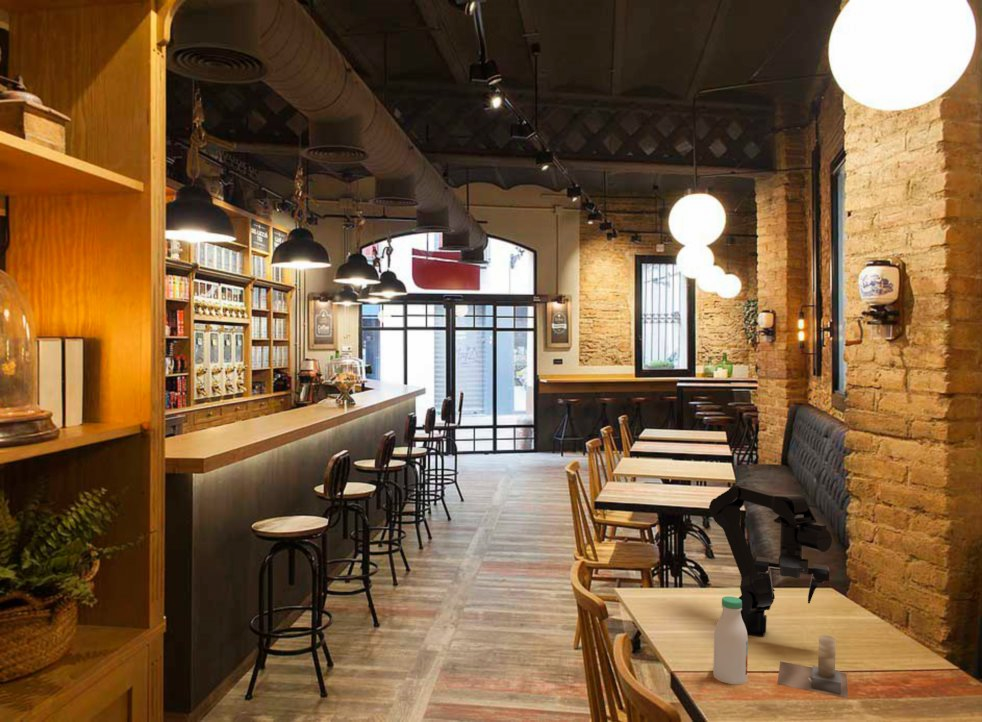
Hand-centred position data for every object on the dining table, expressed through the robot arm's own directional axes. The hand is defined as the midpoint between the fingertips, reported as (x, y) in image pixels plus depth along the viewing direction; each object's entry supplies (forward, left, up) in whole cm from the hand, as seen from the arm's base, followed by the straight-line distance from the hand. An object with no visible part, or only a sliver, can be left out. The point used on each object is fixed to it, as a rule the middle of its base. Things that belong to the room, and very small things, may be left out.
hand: (790, 600), depth 192 cm
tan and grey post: (+9, -22, -12) cm, 26 cm away
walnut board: (+6, -20, -13) cm, 25 cm away
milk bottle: (-12, -28, -13) cm, 33 cm away
